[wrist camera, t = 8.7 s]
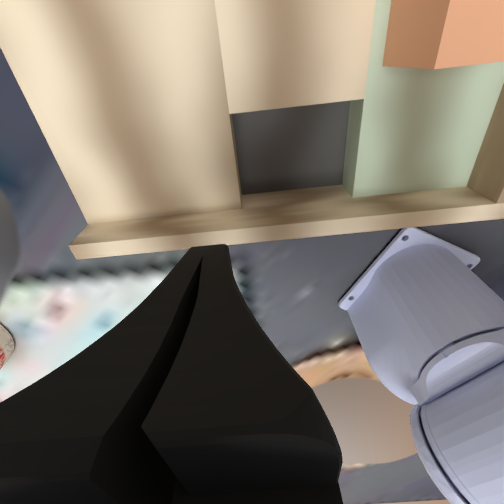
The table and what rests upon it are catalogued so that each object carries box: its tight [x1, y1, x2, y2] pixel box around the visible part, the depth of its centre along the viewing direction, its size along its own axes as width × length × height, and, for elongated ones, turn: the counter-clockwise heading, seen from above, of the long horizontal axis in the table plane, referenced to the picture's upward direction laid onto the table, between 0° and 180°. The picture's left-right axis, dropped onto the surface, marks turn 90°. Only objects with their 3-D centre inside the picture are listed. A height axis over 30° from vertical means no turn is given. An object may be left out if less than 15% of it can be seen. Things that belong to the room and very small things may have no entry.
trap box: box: [0, 0, 504, 259], centre depth 12 cm, size 25×20×5 cm
